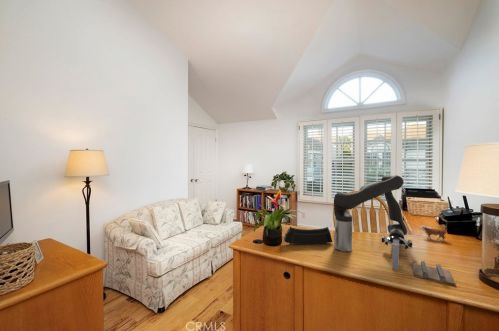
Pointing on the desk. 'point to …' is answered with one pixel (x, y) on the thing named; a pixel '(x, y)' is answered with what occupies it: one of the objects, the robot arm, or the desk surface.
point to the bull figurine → (433, 232)
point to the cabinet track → (433, 273)
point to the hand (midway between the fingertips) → (396, 245)
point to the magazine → (308, 236)
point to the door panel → (395, 255)
